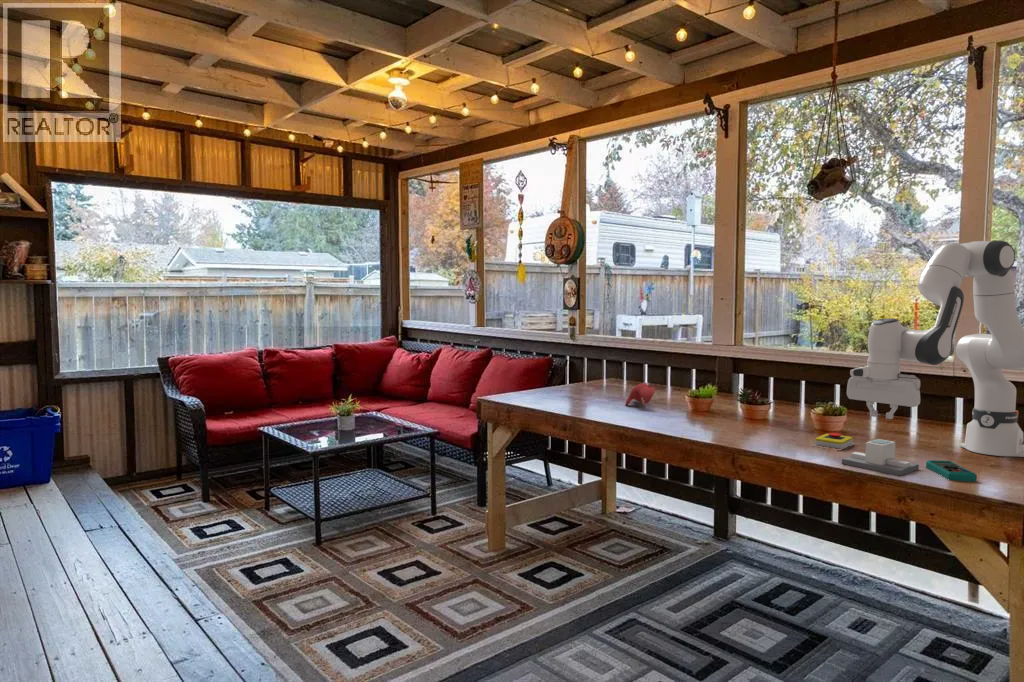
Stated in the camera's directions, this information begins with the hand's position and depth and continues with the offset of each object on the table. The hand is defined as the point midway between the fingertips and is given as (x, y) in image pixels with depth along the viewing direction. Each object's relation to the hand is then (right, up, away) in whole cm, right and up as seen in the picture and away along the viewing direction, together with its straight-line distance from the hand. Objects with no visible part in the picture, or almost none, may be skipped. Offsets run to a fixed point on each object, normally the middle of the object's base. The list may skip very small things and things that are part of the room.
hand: (881, 417), depth 201 cm
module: (0, -14, +1) cm, 14 cm away
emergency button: (-1, -14, +29) cm, 32 cm away
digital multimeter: (+16, -16, -8) cm, 24 cm away
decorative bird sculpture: (-53, -7, +110) cm, 122 cm away
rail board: (0, -15, +1) cm, 15 cm away
